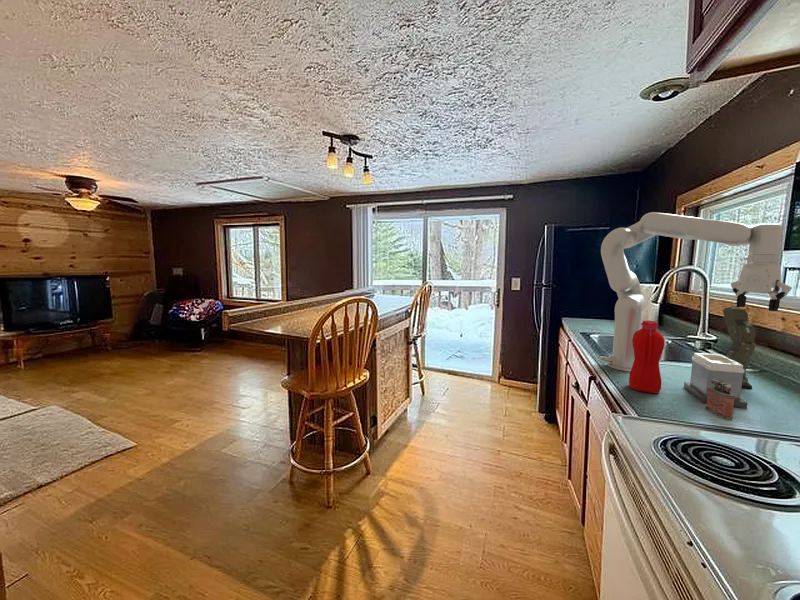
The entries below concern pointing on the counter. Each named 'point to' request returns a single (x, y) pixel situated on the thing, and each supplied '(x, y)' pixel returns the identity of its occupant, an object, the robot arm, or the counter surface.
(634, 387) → the water bottle
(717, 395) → the lighter
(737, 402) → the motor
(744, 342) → the mechanical leg
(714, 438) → the counter surface
